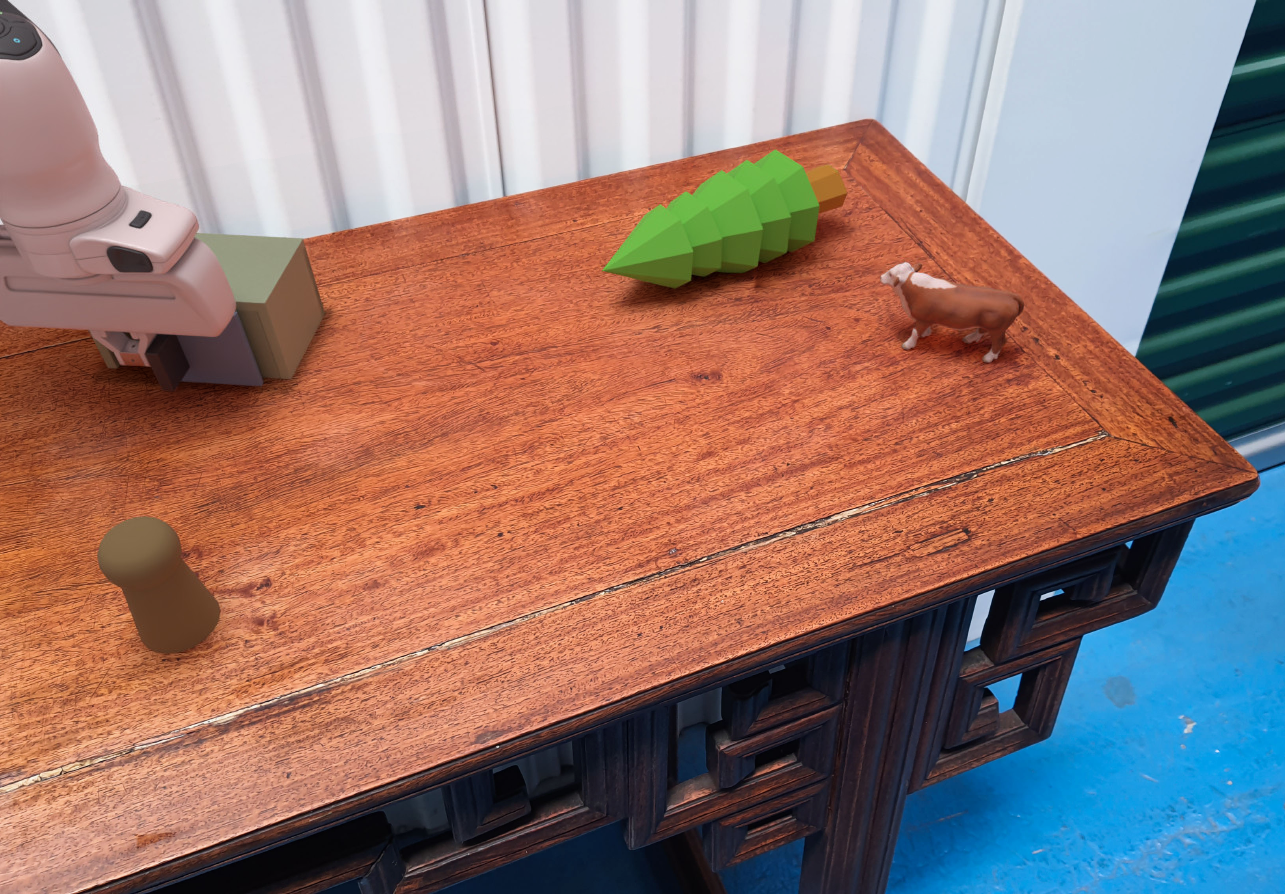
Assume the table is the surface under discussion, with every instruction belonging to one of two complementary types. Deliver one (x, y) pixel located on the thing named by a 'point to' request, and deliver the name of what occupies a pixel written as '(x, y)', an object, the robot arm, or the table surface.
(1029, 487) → the table surface
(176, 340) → the slide door
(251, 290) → the cupboard
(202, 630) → the cork
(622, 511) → the table surface
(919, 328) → the bull figurine
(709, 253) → the decorative tree
